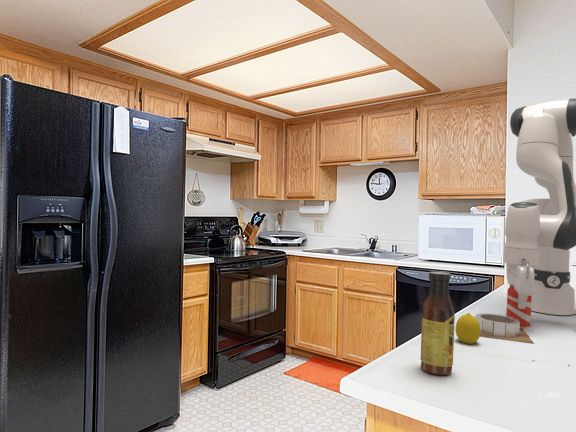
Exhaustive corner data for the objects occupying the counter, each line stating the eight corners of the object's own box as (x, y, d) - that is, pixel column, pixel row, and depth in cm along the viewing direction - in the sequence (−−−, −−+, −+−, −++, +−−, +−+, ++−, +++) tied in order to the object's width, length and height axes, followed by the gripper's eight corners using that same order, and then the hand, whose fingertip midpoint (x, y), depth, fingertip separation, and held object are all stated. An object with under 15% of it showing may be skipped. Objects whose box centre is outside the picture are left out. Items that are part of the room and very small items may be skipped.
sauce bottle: (455, 378, 79) (460, 276, 79) (421, 374, 80) (426, 274, 80) (449, 366, 85) (453, 271, 85) (418, 362, 87) (422, 269, 86)
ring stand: (464, 324, 119) (464, 320, 119) (522, 331, 114) (522, 328, 114) (467, 338, 105) (467, 334, 105) (534, 347, 100) (534, 343, 100)
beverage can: (534, 331, 115) (536, 288, 114) (509, 329, 116) (511, 287, 116) (525, 325, 121) (527, 284, 120) (502, 323, 122) (504, 283, 122)
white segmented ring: (473, 323, 116) (474, 311, 116) (514, 329, 112) (515, 316, 112) (476, 333, 106) (477, 320, 106) (521, 339, 103) (522, 325, 103)
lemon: (469, 351, 95) (470, 317, 95) (449, 343, 100) (451, 311, 100) (484, 348, 98) (486, 315, 98) (465, 341, 103) (466, 309, 103)
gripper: (542, 262, 107) (539, 315, 107) (526, 255, 126) (524, 299, 126) (515, 260, 109) (512, 312, 109) (503, 253, 128) (501, 297, 129)
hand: (518, 305), depth 118 cm, fingers closed on beverage can, 6 cm apart
